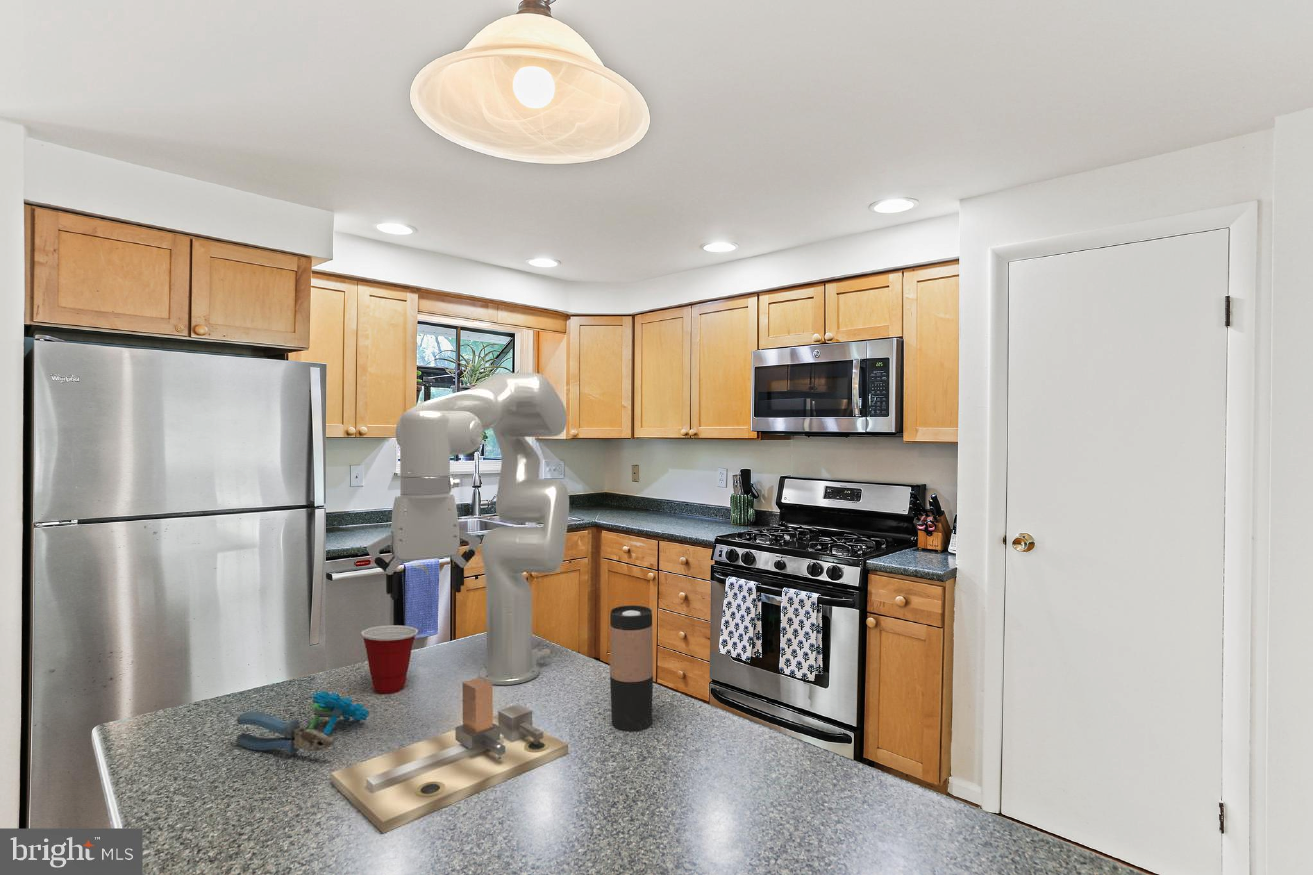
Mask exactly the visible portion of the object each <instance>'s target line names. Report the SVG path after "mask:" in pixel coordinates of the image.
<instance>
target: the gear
mask: <svg viewBox="0 0 1313 875" xmlns="http://www.w3.org/2000/svg"><path fill="white" fill-rule="evenodd" d="M312 698H313V699H312V702H313V703H314V704H313V706H312V707H311V709H312V710H314V712H313V715H314V717H313V719H312V721H311V723H310V725H309V726H308V729H313V730H314V729H315V726H316V724H317V722H318V721H319V719H320V718H325V719H326V718H327V719H330V720H329V721H328V723H327V725H326V726H325V728H324V730H323V732H322V733H323V734H325V735H327V736H328V737H330V736H329V735H330V734H331V732H332V730H333V728H334V726H335V724H336V723H337V720H338V719H341V717H342V718H344V719H346V720H349V719H350V718H352V719H353V721H354V720H355V721H356V720H357V721H356V722H359V721H361V720H363V721H366V720H367V718H368V717H369V713H370V710H368V709H366V708H364V705H363V704H361V703H359V702H356V703H355V704H354V703H353V699H352V698H350V697H347V696H344V698H342V697H341V696H340V694H339V693H336V692H331V694H330V693H328V692H327V691H325V690H321V691H320V692H318V691H315V692H314V693H313V696H312Z"/></svg>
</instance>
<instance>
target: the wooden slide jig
mask: <svg viewBox="0 0 1313 875" xmlns="http://www.w3.org/2000/svg"><path fill="white" fill-rule="evenodd" d="M497 712H498V713H497V714H496V715H493V723H494V724H496V725H497V726H499V727H500V740H497V742H499V743H500V744H502V745H504V746H505V753H504V754H502V758H501V759H499V760H496V759H495V753H493V752H492V751H490V750H488V749H487V748H485V747H483V746H482V747H479V748H476V749H474V750H471V749H469V748H468V747H466V746H464V745H463V744H461V743H460V742H458V741H457V740H455V729H453V730H451V731H448V732H447V731H446V732H444V733H442V734H439V735H436V736H433V737H430V738H427V739H424V740H422V741H418V742H415V743H413V744H410V745H407V746H405V747H402V748H399V749H396V750H394V751H389V752H387V753H385V754H382V755H378V756H375V757H373V758H369V759H368V760H364V761H360V762H358V763H355V764H352V765H350V766H346V767H344V768H341V769H338V770H335V771H332V772H331V776H330V777H331V779H330V780H331V781H330V782H331V784H332V785H333V786H334V787H335V788H336V789H337V790H338V791H339V792H340V793H341V794H342V795H343V796H344V795H345V796H344V797H345V798H346V797H347V798H346V799H347V800H348V799H349V802H350V803H351V804H352V805H353V806H354V807H355V808H356V809H357V810H358V811H359V812H360V813H362V814H363V816H364V817H366V819H367V820H369V821H370V822H371V823H372V825H374V827H376V829H378V831H380V832H381V833H382V834H385V833H388V832H389V831H392V830H394V829H397V828H399V827H401V826H404V825H405V824H409V823H411V822H414V821H415V820H417V819H419V818H421V817H424V816H426V815H429V814H432V813H433V812H436V811H438V810H441V809H444V808H445V807H447V806H450V805H452V804H454V803H457V802H459V801H461V800H464V799H466V798H469V797H471V796H473V795H475V794H477V793H480V792H482V791H486V790H487V789H489V788H491V787H494V786H496V785H499V784H501V783H503V782H505V781H508V780H510V779H512V778H515V777H517V776H519V775H521V774H524V773H527V772H529V771H531V770H533V769H536V768H538V767H540V766H542V765H545V764H547V763H550V762H552V761H553V760H557V759H559V758H561V757H564V756H566V755H568V754H569V743H567V742H565V741H563V740H561V739H559V738H557V737H555V736H553V735H551V734H549V733H547V732H546V731H544V730H542V729H539V728H538V727H536V726H535V725H533V710H532V709H530V708H528V707H526V706H524V705H522V704H521V703H518V704H517V703H516V704H515V705H512V706H508V707H506V708H502V709H499V710H497Z"/></svg>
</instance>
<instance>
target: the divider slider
mask: <svg viewBox="0 0 1313 875" xmlns="http://www.w3.org/2000/svg"><path fill="white" fill-rule="evenodd" d="M461 684H462V685H461V686H462V724H461V725H457V726H455V729H454V730H455V740H457V741H458V742H460V743H461V744H463V745H464V746H466V747H468V748H469V749H471V750H474V749H476V748H479V747H482V746H483V747H485V748H487V749H488V750H490V751H492V752H493V753H495V759H496V760H499V759H501V758H502V754H504V753H505V746H504V745H502V744H500V743H499V742H497V740H500V727H499V726H497V725H496V724H494V723H493V716H494V715H493V714H494V712H493V708H494V707H493V706H494V701H493V697H494V696H493V692H494V691H493V689H494V688H493V686H494V684H492V683H490V682H488V681H486V680H484V679H482V678H479V677H477V678H473V679H469V680H466V681H462V683H461Z"/></svg>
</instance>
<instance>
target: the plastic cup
mask: <svg viewBox="0 0 1313 875" xmlns="http://www.w3.org/2000/svg"><path fill="white" fill-rule="evenodd" d="M418 633H419V629H417V628H415V627H413V626H408V625H397V624H396V625H393V624H392V625H391V624H390V625H380V626H374V627H372V626H371V627H369V628H366V629H364V630H362V631H360V634H361V636H362V638H363V642H364V647H365V650H366V656H367V662H368V669H369V673H370V674H369V676H370V677H371V683H372V687H373V690H374V693H376V694H382V695H387V694H389V695H390V694H394V693H397V692H401V691H403V689H405V685H406V681H407V675H408V671H409V666H410V661H411V655H412V654H411V653H412V648H413V645H414V641H415V638H416V636H417V635H418Z"/></svg>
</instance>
